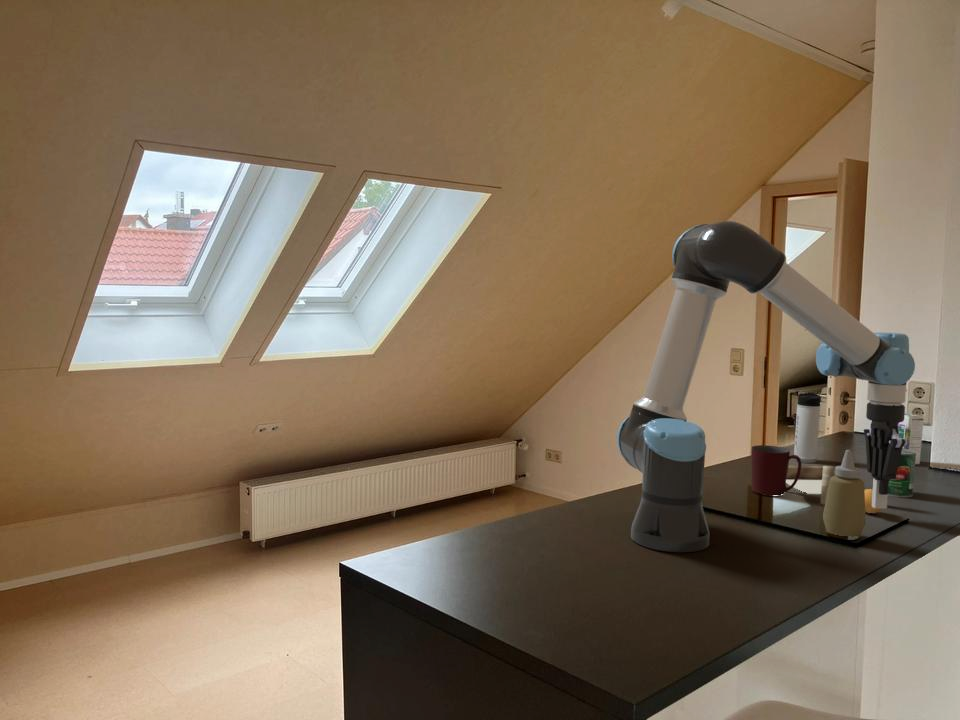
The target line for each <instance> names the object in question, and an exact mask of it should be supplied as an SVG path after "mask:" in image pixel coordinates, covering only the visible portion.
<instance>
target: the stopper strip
mask: <svg viewBox="0 0 960 720" xmlns="http://www.w3.org/2000/svg"><path fill="white" fill-rule="evenodd" d="M823 466H824V465H821V466H820V465H801V472H800V476H799V479H798V480H822V474H823ZM797 471H798V465H788V471H787V478H786V479H788V480H795V478H796V475H797Z"/></svg>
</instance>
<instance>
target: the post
mask: <svg viewBox="0 0 960 720" xmlns="http://www.w3.org/2000/svg"><path fill="white" fill-rule="evenodd" d="M822 466H823V474H822V479H821V480H822V489H821V495H820V503H825V502H826V496H827V491H828V485H829V480H830V478H831V477H833V476H836V475H835V467H836V466H831V465H822Z"/></svg>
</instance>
